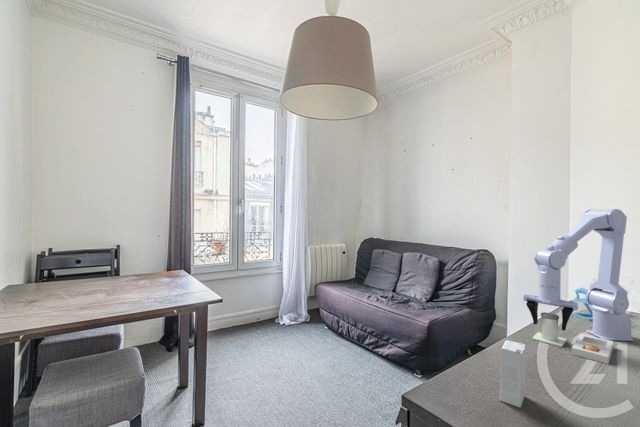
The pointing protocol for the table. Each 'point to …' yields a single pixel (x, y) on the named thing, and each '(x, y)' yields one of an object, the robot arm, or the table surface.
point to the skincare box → (512, 373)
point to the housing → (601, 355)
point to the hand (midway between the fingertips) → (549, 326)
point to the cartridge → (549, 326)
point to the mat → (557, 343)
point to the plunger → (591, 347)
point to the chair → (579, 315)
